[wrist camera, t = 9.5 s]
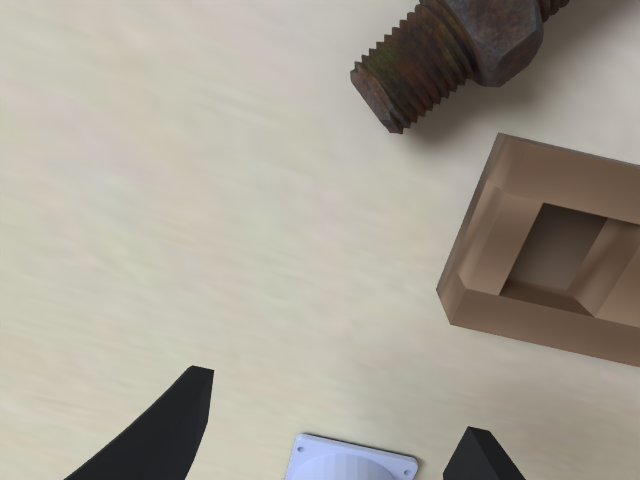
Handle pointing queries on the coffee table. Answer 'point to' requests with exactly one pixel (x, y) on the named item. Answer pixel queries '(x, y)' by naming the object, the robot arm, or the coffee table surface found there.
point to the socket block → (550, 252)
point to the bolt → (448, 53)
